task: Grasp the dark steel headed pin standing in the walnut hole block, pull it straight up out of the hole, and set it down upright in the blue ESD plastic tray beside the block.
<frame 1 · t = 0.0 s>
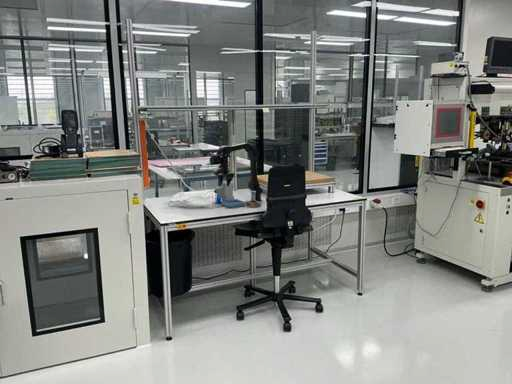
hand: (224, 185, 299), 15 cm above the workbench, tool pointing down, fingers open, 9 cm apart
circuit breaker: (223, 202, 313), on the workbench
pin: (253, 198, 301), in the hole block
tray: (232, 205, 302), on the workbench
hole block: (253, 205, 302), on the workbench
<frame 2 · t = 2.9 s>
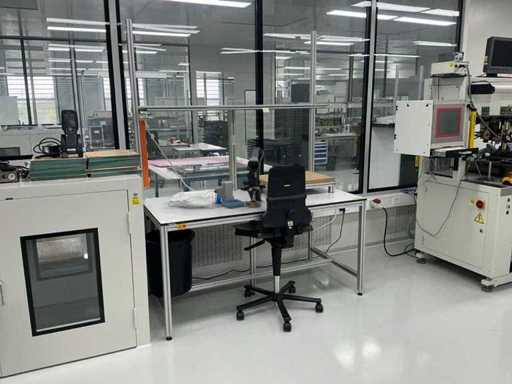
hand: (253, 199, 301), 5 cm above the workbench, tool pointing down, fingers closed on pin, 3 cm apart
pin: (253, 198, 301), in the hole block, touching gripper
everything else where it was.
when the fingers open (7 cm above the workbench, at t = 7.0 s): pin stays where it is, resting on tray.
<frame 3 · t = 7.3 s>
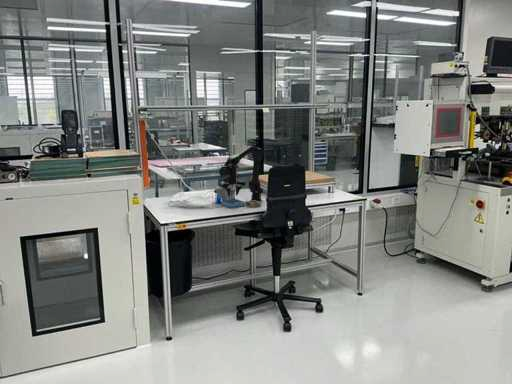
hand: (232, 196, 301), 7 cm above the workbench, tool pointing down, fingers open, 6 cm apart
pin: (232, 196, 301), in the tray, point 6 cm above the workbench
everything else where it was.
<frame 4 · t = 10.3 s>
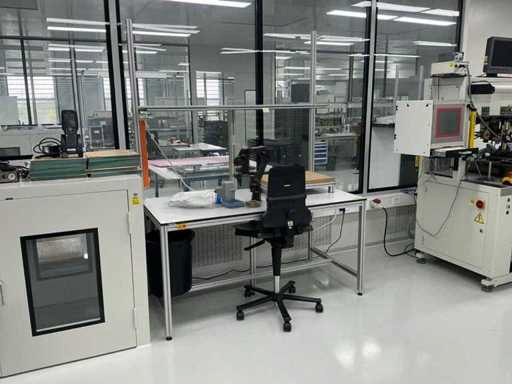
hand: (245, 186, 307), 13 cm above the workbench, tool pointing down, fingers open, 9 cm apart
nothing on the workbench moved.
at the end: pin inside the target area on the tray (0.1 cm from its centre), point 6.4 cm above the tray's base; pin moved 14.6 cm from its start; the gripper is holding nothing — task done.
